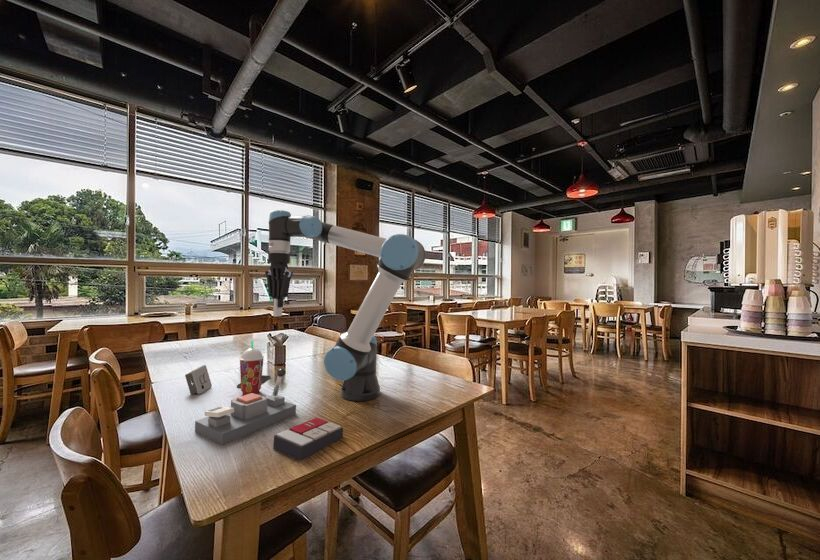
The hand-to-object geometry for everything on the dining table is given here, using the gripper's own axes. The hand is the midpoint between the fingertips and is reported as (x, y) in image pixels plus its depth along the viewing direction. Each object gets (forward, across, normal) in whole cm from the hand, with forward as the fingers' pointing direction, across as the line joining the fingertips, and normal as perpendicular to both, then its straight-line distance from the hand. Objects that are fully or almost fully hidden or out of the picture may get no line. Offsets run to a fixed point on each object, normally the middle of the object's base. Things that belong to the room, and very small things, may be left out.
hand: (277, 316), depth 121 cm
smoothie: (+31, -12, -2) cm, 33 cm away
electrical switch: (+31, -30, -12) cm, 45 cm away
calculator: (+31, +36, -16) cm, 50 cm away
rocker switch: (+25, +11, -27) cm, 38 cm away
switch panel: (+30, +11, -18) cm, 37 cm away
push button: (+27, +11, -18) cm, 34 cm away
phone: (+31, -22, +6) cm, 39 cm away
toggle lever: (+25, +11, -9) cm, 29 cm away
